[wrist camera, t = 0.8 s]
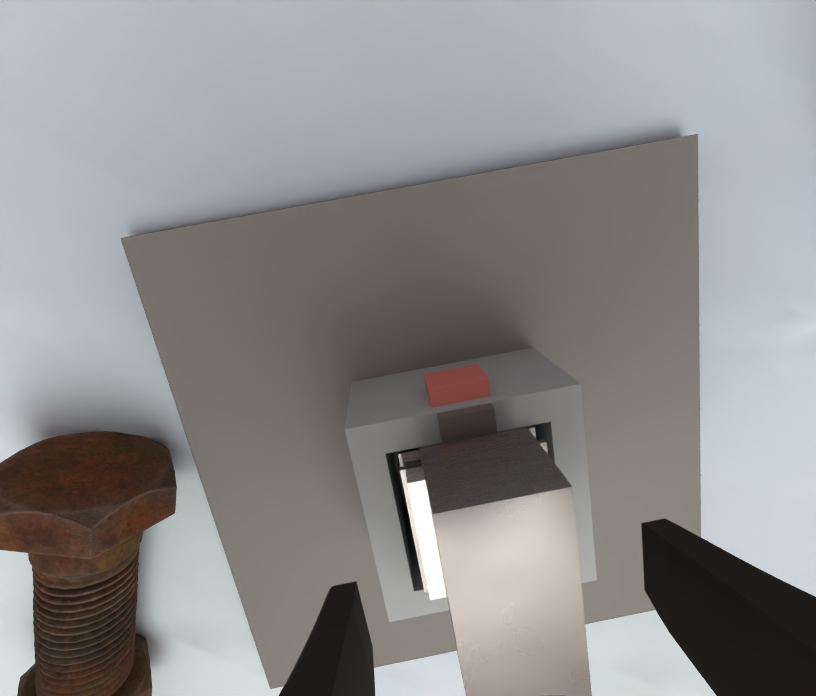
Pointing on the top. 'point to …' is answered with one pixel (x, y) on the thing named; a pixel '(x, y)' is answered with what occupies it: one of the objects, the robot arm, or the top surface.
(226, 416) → the jack base
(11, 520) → the bolt
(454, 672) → the top surface
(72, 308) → the top surface
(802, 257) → the top surface
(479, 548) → the tall silver metal block
